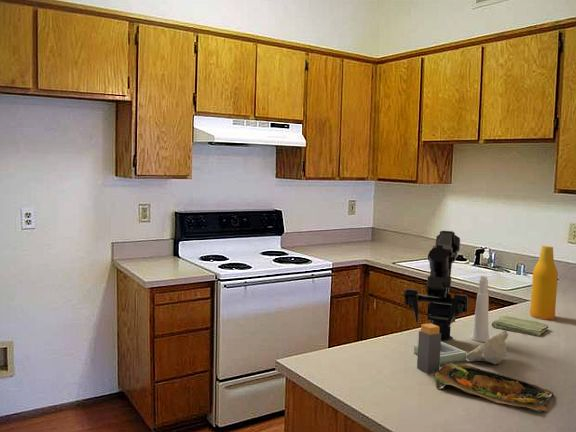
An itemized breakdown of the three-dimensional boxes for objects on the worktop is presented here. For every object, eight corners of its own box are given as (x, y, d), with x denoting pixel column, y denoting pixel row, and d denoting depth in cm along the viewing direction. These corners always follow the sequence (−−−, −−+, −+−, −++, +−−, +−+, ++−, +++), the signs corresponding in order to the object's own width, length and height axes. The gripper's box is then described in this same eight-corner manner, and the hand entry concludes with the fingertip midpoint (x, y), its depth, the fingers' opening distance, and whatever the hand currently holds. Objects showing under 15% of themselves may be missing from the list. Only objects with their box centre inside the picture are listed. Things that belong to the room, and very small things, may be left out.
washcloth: (541, 338, 188) (541, 329, 188) (490, 328, 199) (490, 320, 199) (549, 330, 199) (549, 322, 198) (500, 321, 209) (500, 313, 209)
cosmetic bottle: (493, 341, 182) (497, 278, 180) (478, 342, 180) (482, 278, 178) (482, 336, 188) (485, 274, 186) (467, 337, 186) (471, 275, 184)
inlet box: (414, 353, 167) (414, 345, 167) (440, 348, 172) (440, 341, 172) (438, 365, 157) (439, 356, 157) (465, 360, 162) (466, 351, 162)
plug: (416, 368, 155) (419, 324, 153) (428, 365, 157) (430, 322, 155) (427, 373, 151) (429, 328, 150) (439, 371, 153) (441, 326, 152)
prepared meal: (555, 379, 140) (545, 401, 125) (554, 392, 140) (544, 416, 125) (449, 359, 156) (429, 377, 141) (449, 371, 156) (428, 390, 141)
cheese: (481, 377, 154) (525, 347, 153) (465, 355, 157) (507, 326, 156) (479, 375, 168) (518, 348, 167) (464, 355, 171) (503, 328, 170)
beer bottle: (559, 320, 212) (564, 248, 209) (535, 319, 212) (540, 247, 209) (548, 314, 221) (553, 245, 218) (525, 313, 221) (530, 244, 219)
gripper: (406, 263, 165) (398, 305, 155) (469, 268, 158) (465, 313, 149) (409, 283, 173) (401, 325, 163) (469, 289, 166) (465, 333, 157)
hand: (432, 324), depth 158 cm, fingers open, 9 cm apart
